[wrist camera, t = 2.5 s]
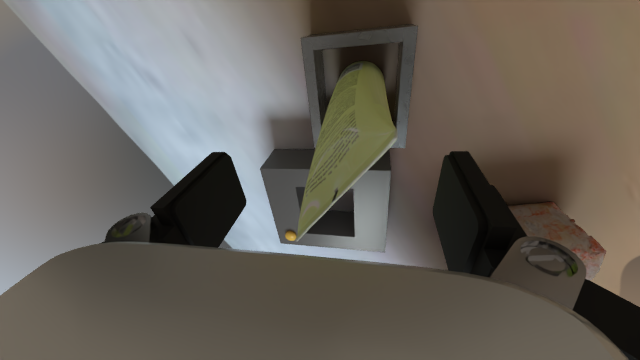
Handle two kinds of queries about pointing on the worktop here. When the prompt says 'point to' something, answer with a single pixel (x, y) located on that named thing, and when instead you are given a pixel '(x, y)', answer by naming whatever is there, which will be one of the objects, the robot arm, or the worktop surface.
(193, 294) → the robot arm
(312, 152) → the port block
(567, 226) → the food item
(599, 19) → the worktop surface
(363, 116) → the tube
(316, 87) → the gray square frame
